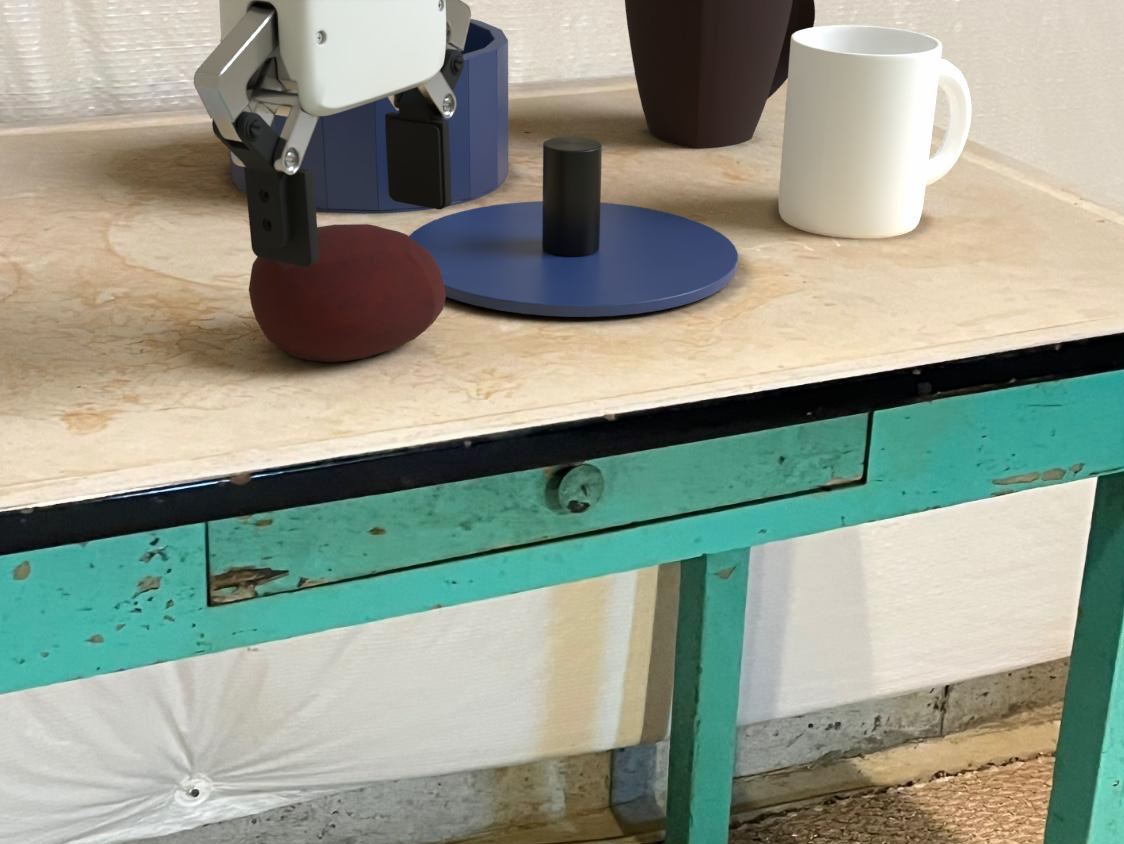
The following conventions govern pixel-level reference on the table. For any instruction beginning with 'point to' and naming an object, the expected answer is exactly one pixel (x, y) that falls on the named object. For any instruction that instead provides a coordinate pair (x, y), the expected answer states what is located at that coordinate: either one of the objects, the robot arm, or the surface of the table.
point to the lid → (576, 248)
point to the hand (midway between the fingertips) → (356, 230)
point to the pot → (360, 140)
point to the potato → (348, 295)
